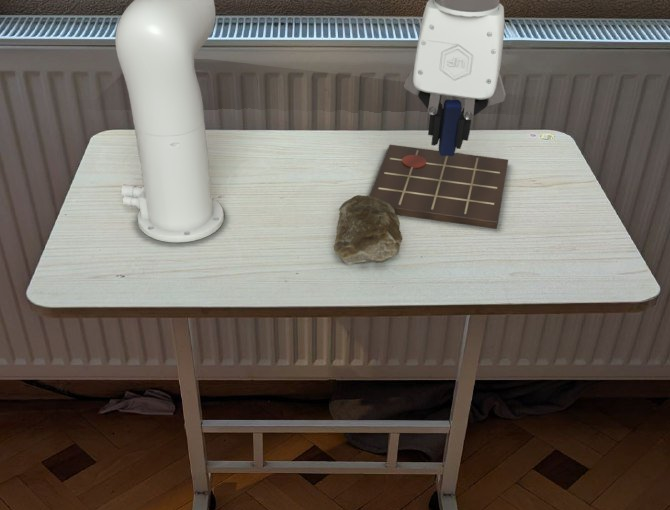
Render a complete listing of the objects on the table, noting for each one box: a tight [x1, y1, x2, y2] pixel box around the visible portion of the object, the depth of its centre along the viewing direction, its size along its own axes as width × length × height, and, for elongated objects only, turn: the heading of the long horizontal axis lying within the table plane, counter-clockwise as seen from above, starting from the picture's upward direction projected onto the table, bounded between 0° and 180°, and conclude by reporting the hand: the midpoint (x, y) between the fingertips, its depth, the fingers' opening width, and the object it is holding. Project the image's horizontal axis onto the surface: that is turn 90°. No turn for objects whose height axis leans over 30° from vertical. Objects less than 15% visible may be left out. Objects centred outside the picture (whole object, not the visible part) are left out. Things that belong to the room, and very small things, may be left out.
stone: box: [333, 194, 403, 266], centre depth 118 cm, size 13×8×8 cm
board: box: [368, 144, 509, 230], centre depth 132 cm, size 20×20×1 cm
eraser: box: [438, 99, 463, 156], centre depth 107 cm, size 2×2×7 cm
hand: (447, 141), depth 108 cm, fingers closed on eraser, 2 cm apart
